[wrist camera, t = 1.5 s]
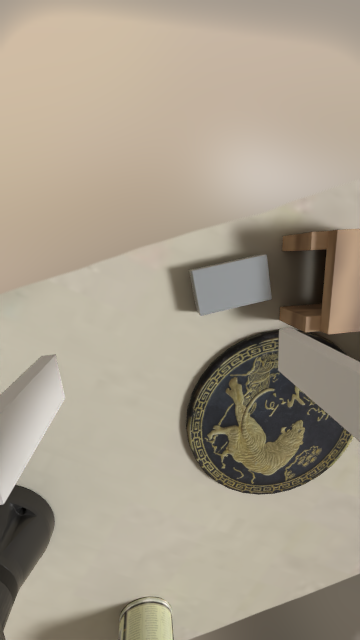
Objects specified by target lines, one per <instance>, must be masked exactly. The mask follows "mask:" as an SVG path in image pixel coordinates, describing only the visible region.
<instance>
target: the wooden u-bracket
mask: <svg viewBox="0 0 360 640" xmlns="http://www.w3.org/2000/svg"><path fill="white" fill-rule="evenodd" d="M321 249H327V253H326V265H325V277H324V289H323V301H322V303H321V304H309V305H297V306H285V307H280V317H279V320H280V321H283V322H285V323H287V324H289V325H291V326H293V327H295V328H297V329H299V330H301V331H303V332H314V331H321V332H324V333H326V334H337V333H347V332H358V331H360V229H344V230H333V231H321V232H309V233H302V234H295V235H288V236H283V245H282V251H301V250H321Z"/></svg>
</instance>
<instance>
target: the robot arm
mask: <svg viewBox="0 0 360 640" xmlns="http://www.w3.org/2000/svg"><path fill="white" fill-rule="evenodd" d="M278 371H279V372H281V373H282V374H283V375H284V376H285V377H286V378H287V379H289V380H290V381H291V382H292V383H293V384H294V385H295V386H297V387H298V388H299V389H300V390H301V391H302V392H303V393H305V394H306V395H307V396H308V397H309V398H310V399H311V400H313V401H314V402H315V403H316V404H317V405H318V406H319V407H321V408H322V409H323V410H324V411H325V412H326V413H327V414H329V415H330V416H331V417H332V418H333V419H334V420H335V421H337V422H338V423H339V424H340V425H341V426H342V427H343V428H345V429H346V430H347V431H348V432H349V433H350V434H351V435H353V436H354V437H355V438H356V439H357V440H358V441H359V442H360V361H359V360H356V359H353V358H351V357H349V356H347V355H345V354H343V353H341V352H339V351H337V350H335V349H333V348H331V347H329V346H327V345H325V344H323V343H321V342H319V341H317V340H315V339H313V338H311V337H309V336H307V335H305V334H303V333H301V332H299V331H297V330H295V329H293V328H284V329H279V357H278ZM64 399H65V395H64V391H63V386H62V381H61V377H60V372H59V367H58V363H57V358H56V354H55V355H46V356H41V357H40V358H39V359H38V360H37V361H36V362H35V363H34V364H32V365H31V366H30V367H29V368H28V369H27V370H26V371H25V372H24V373H23V374H22V375H21V376H20V377H19V378H18V379H17V380H16V381H15V382H13V383H12V384H11V385H10V386H9V387H8V388H7V389H6V390H5V391H4V392H3V393H2V394H1V395H0V640H5V636H4V633H3V630H4V627H5V625H6V622H7V619H8V617H9V614H10V611H11V609H12V606H13V604H14V601H15V598H16V596H17V593H18V591H19V589H20V587H21V586H22V584H23V583H24V582H25V580H26V579H27V577H28V576H29V574H30V573H31V571H32V570H33V568H34V567H35V565H36V564H37V562H38V560H39V559H40V557H41V556H42V555H43V553H44V552H45V550H46V548H47V546H48V544H49V541H50V538H51V535H52V532H53V529H54V522H55V521H54V515H53V512H52V509H51V507H50V506H49V504H48V503H47V502H46V501H45V500H44V499H43V498H42V497H41V496H39V495H38V494H36V493H35V492H33V491H31V490H28V489H26V488H23V487H19V486H15V484H16V482H17V481H18V479H19V477H20V476H21V474H22V472H23V470H24V469H25V467H26V465H27V463H28V462H29V460H30V458H31V456H32V455H33V453H34V451H35V450H36V448H37V446H38V444H39V443H40V441H41V439H42V437H43V436H44V434H45V432H46V430H47V429H48V427H49V425H50V424H51V422H52V420H53V418H54V417H55V415H56V413H57V411H58V410H59V408H60V406H61V404H62V403H63V401H64Z"/></svg>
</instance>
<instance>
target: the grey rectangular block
mask: <svg viewBox="0 0 360 640" xmlns="http://www.w3.org/2000/svg"><path fill="white" fill-rule="evenodd" d="M189 274H190V279H191V284H192V289H193V294H194V299H195V305H196V310H197V312H198V314H199V315H200V316H202V315H206V314H211V313H215V312H219V311H224V310H228V309H232V308H236V307H241V306H245V305H249V304H254V303H258V302H262V301H266V300H271V299H272V297H271V288H270V279H269V270H268V261H267V255H255V256H250V257H246V258H241V259H237V260H232V261H228V262H223V263H218V264H214V265H209V266H205V267H200V268H196V269H191V270H189Z"/></svg>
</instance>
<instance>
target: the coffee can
mask: <svg viewBox="0 0 360 640" xmlns="http://www.w3.org/2000/svg"><path fill="white" fill-rule="evenodd" d="M119 623H120V624H119V639H118V640H174V637H173V625H172V609H171V606H170V605H169V603H168V602H167V601H165V600H163V599H161V598H157V597H146V598H141V599H138V600H136V601H134V602H132V603H130V604H129V605H127V606H126V607H125V608H124V609H123V611H122V612H121V615H120V619H119Z"/></svg>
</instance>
